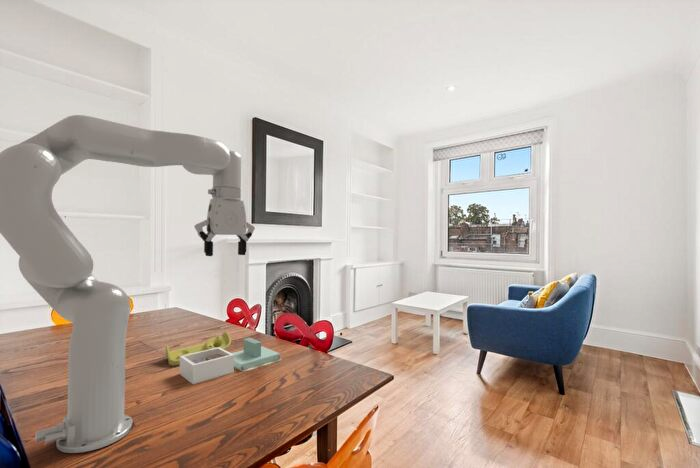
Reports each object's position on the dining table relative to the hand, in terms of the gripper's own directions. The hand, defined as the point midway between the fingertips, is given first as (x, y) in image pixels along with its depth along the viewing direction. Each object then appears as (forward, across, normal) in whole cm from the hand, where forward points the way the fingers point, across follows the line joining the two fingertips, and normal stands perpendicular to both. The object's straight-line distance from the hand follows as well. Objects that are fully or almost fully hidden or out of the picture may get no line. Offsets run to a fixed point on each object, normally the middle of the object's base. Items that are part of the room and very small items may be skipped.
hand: (225, 255), depth 96 cm
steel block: (+36, -4, +9) cm, 37 cm away
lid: (+35, +14, +9) cm, 39 cm away
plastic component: (+37, +3, +25) cm, 45 cm away
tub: (+36, -1, +9) cm, 37 cm away
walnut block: (+36, +2, +9) cm, 37 cm away
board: (+36, +14, +9) cm, 40 cm away
